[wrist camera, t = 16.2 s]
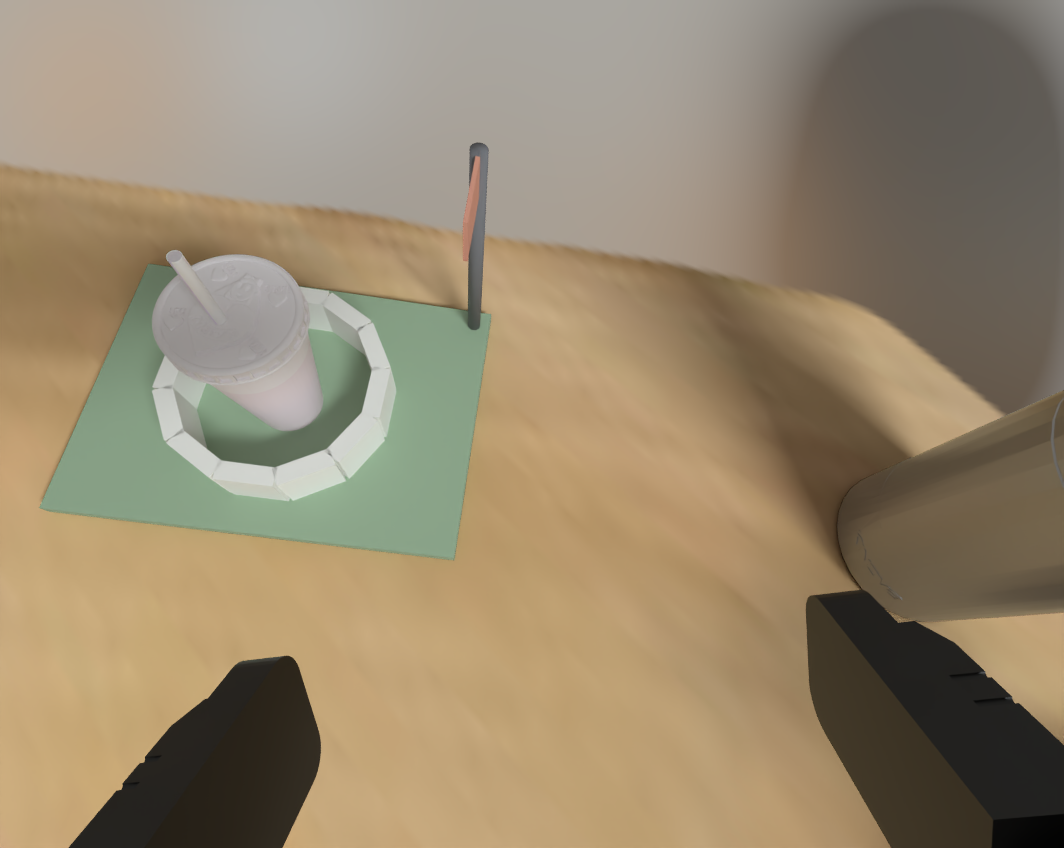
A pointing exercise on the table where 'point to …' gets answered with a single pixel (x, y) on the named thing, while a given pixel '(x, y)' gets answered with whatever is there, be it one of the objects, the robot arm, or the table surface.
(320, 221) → the table surface
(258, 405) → the smoothie
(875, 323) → the table surface
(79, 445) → the practice green
